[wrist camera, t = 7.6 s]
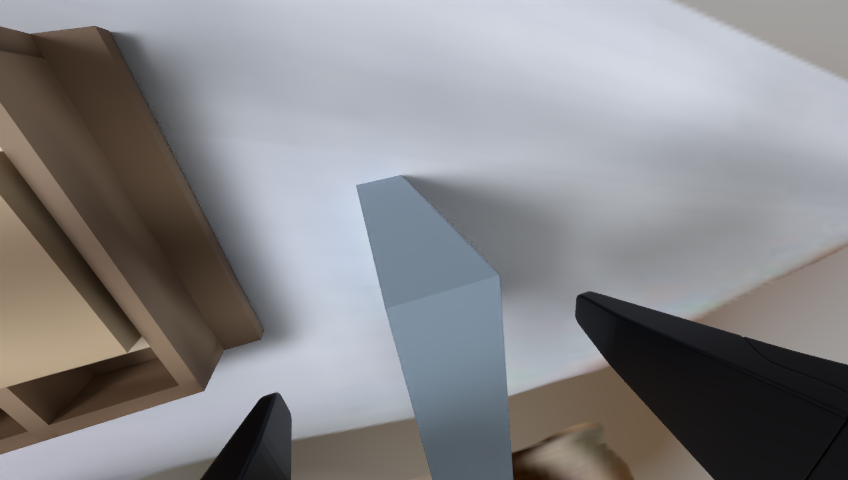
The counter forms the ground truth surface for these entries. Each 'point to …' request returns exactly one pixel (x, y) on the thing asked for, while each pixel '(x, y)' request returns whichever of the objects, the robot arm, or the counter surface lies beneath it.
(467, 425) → the board
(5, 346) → the offcut upper
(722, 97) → the counter surface
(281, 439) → the robot arm
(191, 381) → the rack
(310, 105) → the counter surface
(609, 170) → the counter surface
